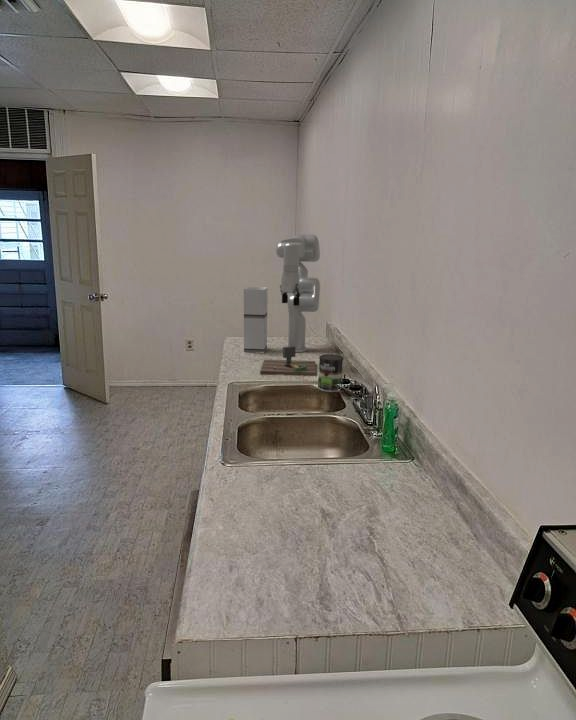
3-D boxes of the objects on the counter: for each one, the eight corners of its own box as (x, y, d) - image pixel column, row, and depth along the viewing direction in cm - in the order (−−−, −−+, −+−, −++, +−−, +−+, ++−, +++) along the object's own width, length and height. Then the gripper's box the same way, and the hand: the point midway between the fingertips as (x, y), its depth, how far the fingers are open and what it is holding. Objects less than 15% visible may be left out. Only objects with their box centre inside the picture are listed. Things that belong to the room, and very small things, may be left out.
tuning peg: (281, 364, 251) (281, 346, 249) (292, 363, 254) (292, 345, 252) (292, 370, 242) (293, 351, 240) (303, 368, 245) (304, 350, 243)
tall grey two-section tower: (267, 348, 294) (267, 287, 285) (264, 352, 283) (264, 289, 275) (247, 347, 295) (247, 286, 286) (243, 352, 284) (243, 288, 276)
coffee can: (336, 393, 214) (338, 361, 211) (314, 389, 219) (315, 357, 215) (345, 387, 223) (347, 356, 220) (324, 383, 228) (325, 353, 224)
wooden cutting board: (264, 362, 263) (264, 357, 262) (314, 363, 262) (315, 358, 261) (260, 374, 241) (260, 368, 241) (315, 375, 240) (315, 369, 240)
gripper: (274, 268, 255) (274, 302, 259) (295, 270, 242) (294, 306, 246) (287, 267, 259) (286, 301, 264) (308, 270, 246) (307, 305, 250)
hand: (290, 304), depth 255 cm, fingers open, 9 cm apart
